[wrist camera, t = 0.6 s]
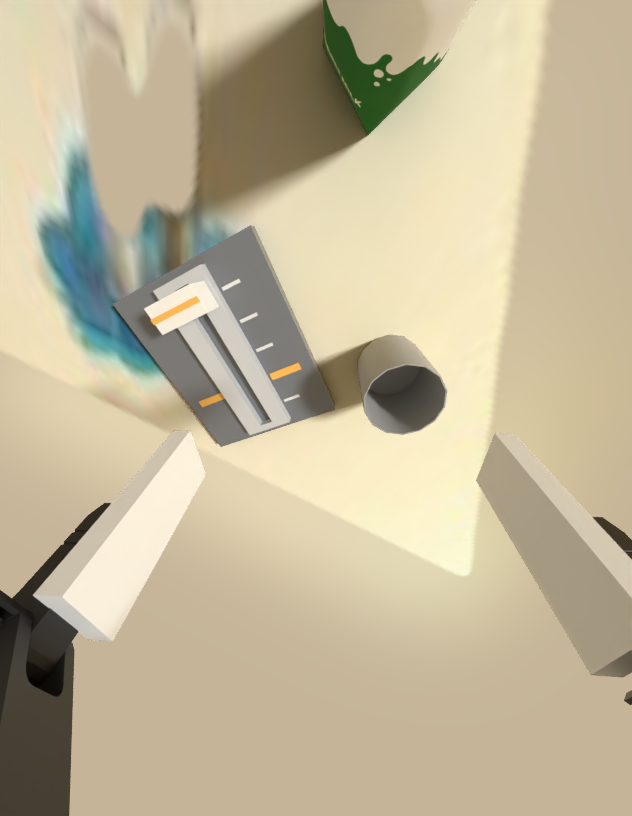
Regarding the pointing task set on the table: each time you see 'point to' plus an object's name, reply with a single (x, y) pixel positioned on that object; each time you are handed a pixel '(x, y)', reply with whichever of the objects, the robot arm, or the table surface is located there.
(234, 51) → the table surface
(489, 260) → the table surface
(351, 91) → the milk carton
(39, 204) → the table surface
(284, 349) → the console
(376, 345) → the cup
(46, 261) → the table surface
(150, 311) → the fader
